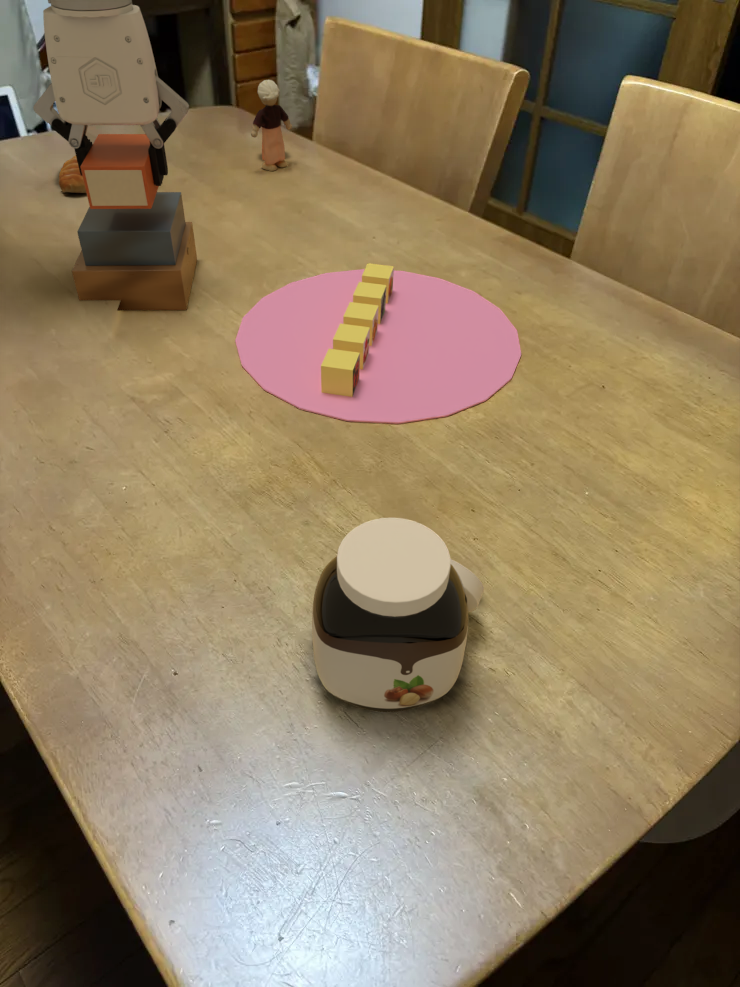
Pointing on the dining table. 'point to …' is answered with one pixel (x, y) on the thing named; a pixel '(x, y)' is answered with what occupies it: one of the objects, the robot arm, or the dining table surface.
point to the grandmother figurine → (271, 126)
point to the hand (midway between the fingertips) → (126, 180)
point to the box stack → (137, 256)
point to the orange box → (119, 172)
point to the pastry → (71, 177)
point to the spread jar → (392, 617)
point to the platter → (378, 346)
